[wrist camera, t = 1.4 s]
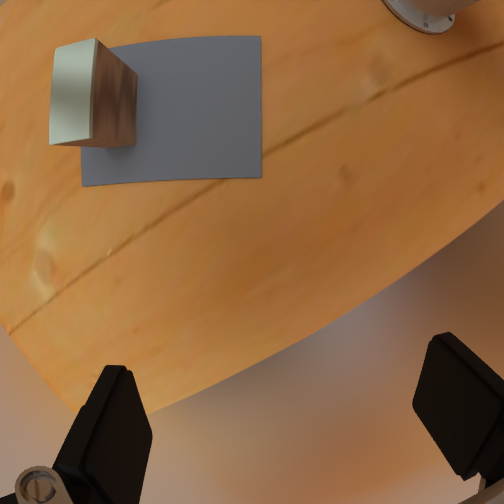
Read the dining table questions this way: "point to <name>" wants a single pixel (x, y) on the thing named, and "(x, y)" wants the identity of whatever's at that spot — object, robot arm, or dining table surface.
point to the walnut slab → (92, 97)
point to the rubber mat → (188, 113)
